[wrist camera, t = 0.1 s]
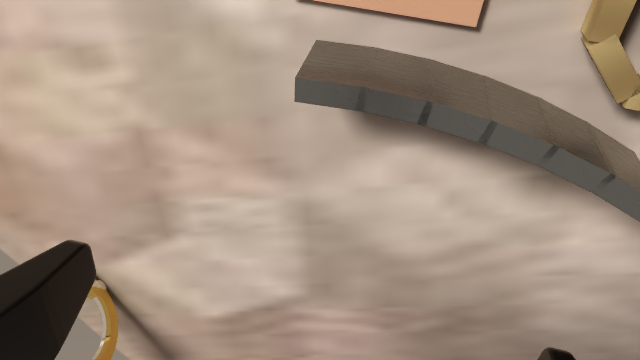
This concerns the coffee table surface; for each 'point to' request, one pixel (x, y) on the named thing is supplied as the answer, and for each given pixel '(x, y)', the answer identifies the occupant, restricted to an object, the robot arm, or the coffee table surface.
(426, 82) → the gray curved bar
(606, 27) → the brown cylinder
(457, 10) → the tile
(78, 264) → the robot arm
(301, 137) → the coffee table surface
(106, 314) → the ring
